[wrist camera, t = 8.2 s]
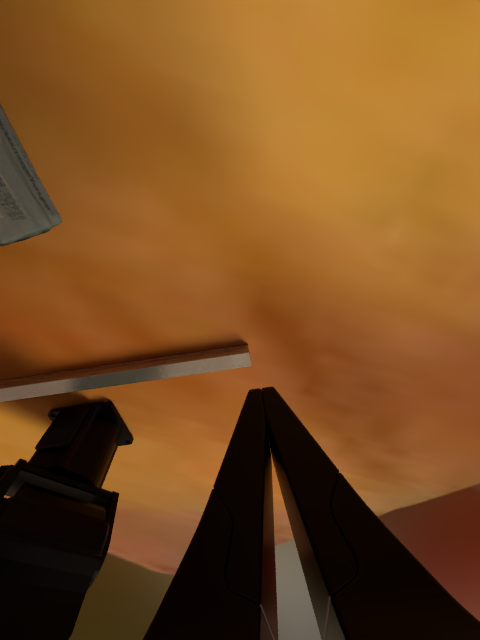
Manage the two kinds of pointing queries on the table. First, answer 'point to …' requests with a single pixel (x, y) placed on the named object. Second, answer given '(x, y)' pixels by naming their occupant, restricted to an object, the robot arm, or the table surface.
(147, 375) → the bay
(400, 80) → the table surface
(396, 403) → the table surface
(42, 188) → the beverage carton
